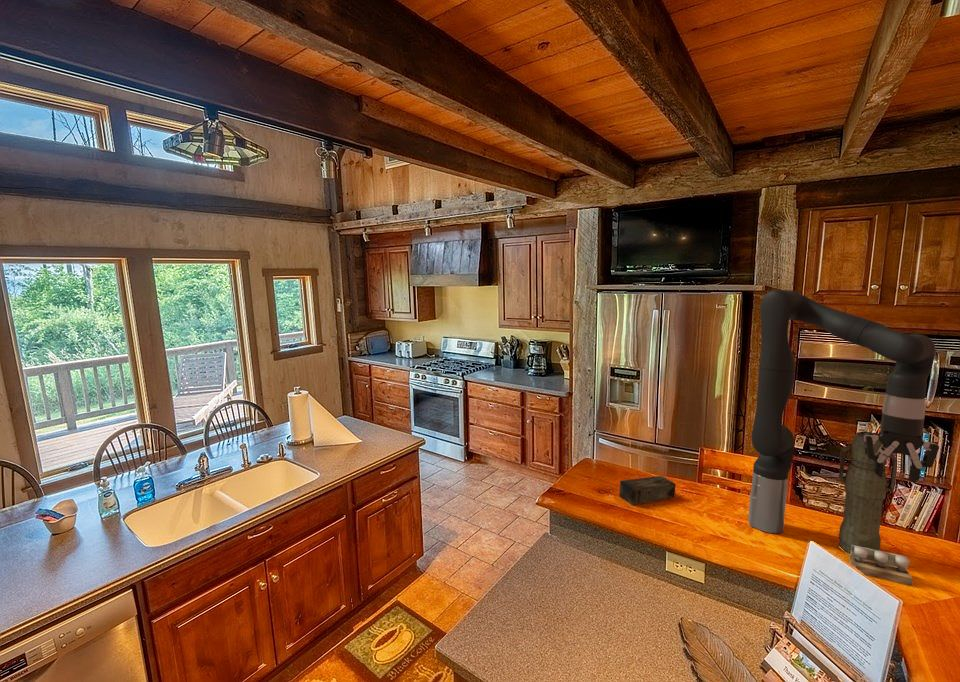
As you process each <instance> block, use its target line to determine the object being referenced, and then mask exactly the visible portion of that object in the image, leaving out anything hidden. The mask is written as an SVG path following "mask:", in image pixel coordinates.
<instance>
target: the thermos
mask: <svg viewBox="0 0 960 682" xmlns="http://www.w3.org/2000/svg"><path fill="white" fill-rule="evenodd" d="M855 433H856V434H855V435H854V436H853V438H852V439H853V440H852V442H851V444H850V445H846V446H844V447H843V448H842V449H840V460H839V472H838V478H839V479H840V480H841V481H842V482H844V486H843V488H844V490H845V499H844V508H843V519H842V521H841V524H840V526H839V533H838V539H839V540H838V541H839V543H838V547H839V546H840V547H841V548H842V549H843V550H844V551H845V552H847V553H849V554H851V545H856V546H860V547H865V548H869V549H874V550H879V551H881V545H882V544H881V542H882V538H881V536H880V529H881V528H880V527H881V518H882V511H883V504H884V503H883V502H884V500H885V499H886V495H887V493H888V492H894V490H895V485H896V479H897V478H896V477H897V471H898V470H897V467H898V459H897V458H896V456H895V454H894V453H891V454H890V455H889V456H888V457H887V458H886V459H885V460H884V461H883V462H882V463H883V464H884V466H883V475H882V477H878V476H877V475H876V474H875V473H874V471H873V467H874V460H872V459H869V458H868V457H867V456H866V455H865V447H864V438H863V435H864V434H868V435H878V434H879V433H876V432H871V431H859V432H855ZM881 446H882V443H881V442H880V441H879V440H876V443H875V444H873V450H874V455H876V454H877V452H878V450H879V448H880V447H881ZM847 451H850V455H849V458H850V461H849V465H848V467H847V469H846V470H845V460H846V453H847ZM889 458H891V460H892V461H891V462H892V463H891V470H890V471H891V472H890V479H889V485H888V478H887V475H886V465H887V461H888V459H889ZM844 471H845V476H844ZM844 551H843V552H844ZM845 552H844V553H845ZM847 553H846V554H847ZM849 554H848V555H849Z"/></svg>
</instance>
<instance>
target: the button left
mask: <svg viewBox="0 0 960 682" xmlns="http://www.w3.org/2000/svg"><path fill="white" fill-rule="evenodd" d="M854 554H855V555H856V556H857V557H856V562H858V563H863V558H867V549H865V548H863V547H860V546H855V548H854Z"/></svg>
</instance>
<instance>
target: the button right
mask: <svg viewBox="0 0 960 682" xmlns="http://www.w3.org/2000/svg"><path fill="white" fill-rule="evenodd" d="M904 556H905V555H901V554H897V555H896V557H895V563H896V564H897V565H898V568H897V571H898V572H902V573H905V568H906V569H907V568H909V567H910V561H911V560H910V558H908V557H907V556H906V557H907V558H906V557H904Z"/></svg>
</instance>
